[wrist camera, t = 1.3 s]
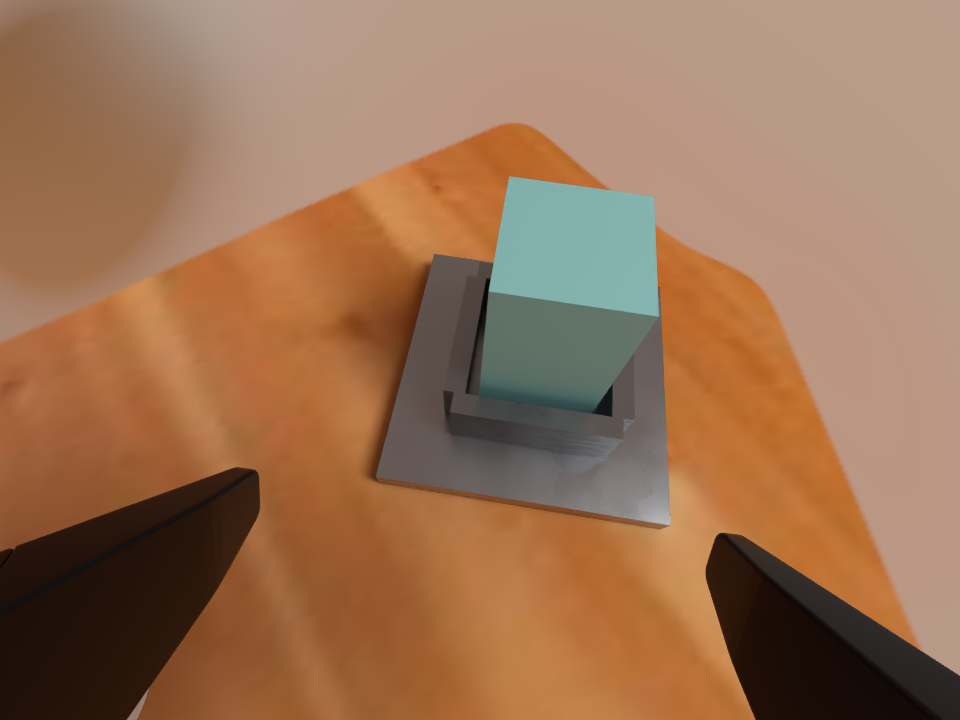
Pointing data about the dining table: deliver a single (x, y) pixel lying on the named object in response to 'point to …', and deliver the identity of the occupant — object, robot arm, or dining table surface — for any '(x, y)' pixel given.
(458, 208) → the dining table surface
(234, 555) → the robot arm
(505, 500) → the socket holder
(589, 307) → the teal block
